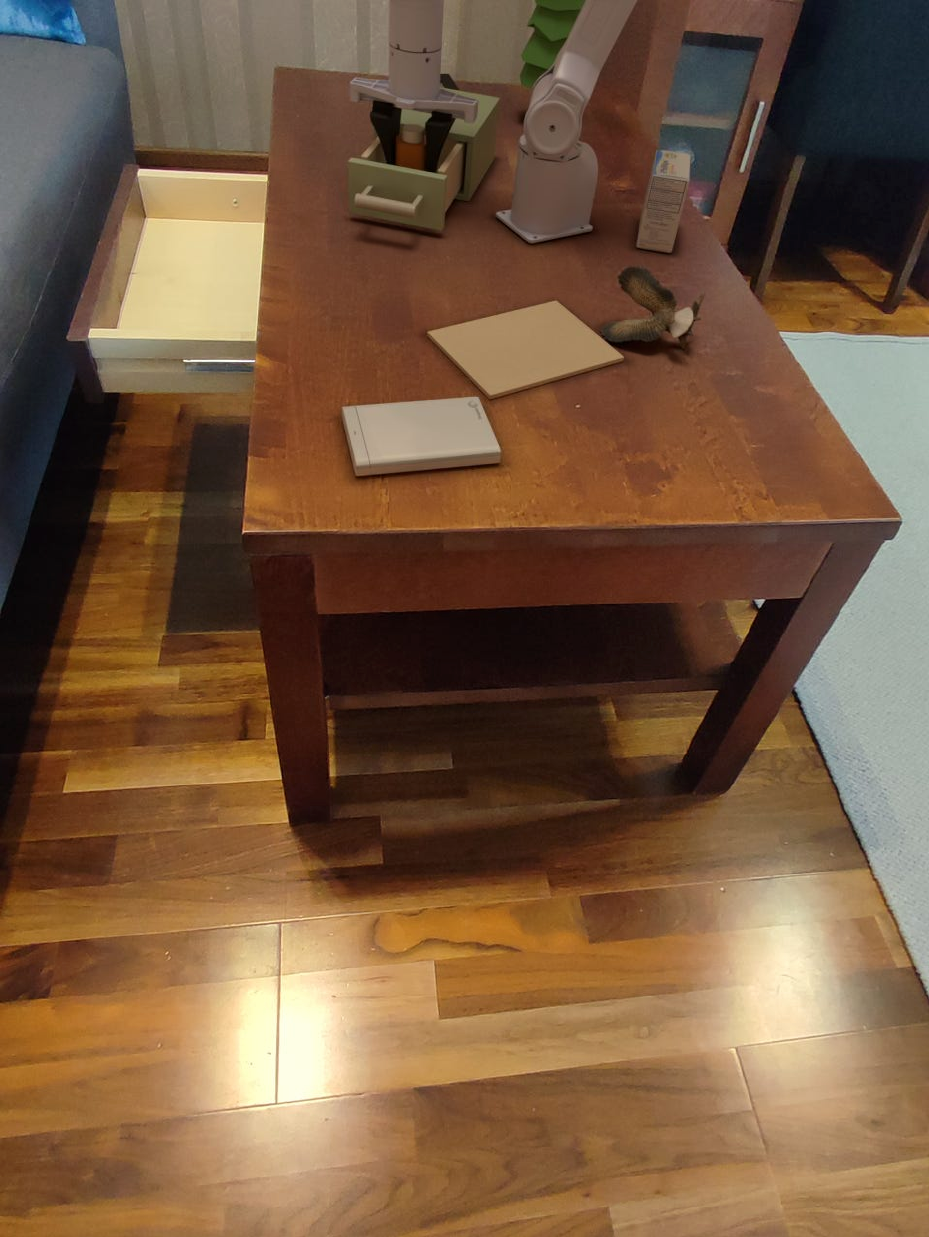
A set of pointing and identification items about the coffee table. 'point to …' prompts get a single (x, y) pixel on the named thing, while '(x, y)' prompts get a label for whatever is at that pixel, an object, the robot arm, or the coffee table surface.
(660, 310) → the eagle figurine
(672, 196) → the medicine box
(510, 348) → the mat
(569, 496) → the coffee table surface
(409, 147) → the bottle
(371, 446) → the hard drive
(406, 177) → the drawer
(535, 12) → the decorative tree
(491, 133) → the cabinet
